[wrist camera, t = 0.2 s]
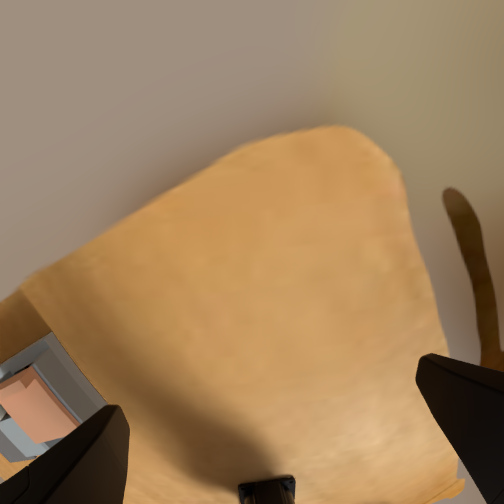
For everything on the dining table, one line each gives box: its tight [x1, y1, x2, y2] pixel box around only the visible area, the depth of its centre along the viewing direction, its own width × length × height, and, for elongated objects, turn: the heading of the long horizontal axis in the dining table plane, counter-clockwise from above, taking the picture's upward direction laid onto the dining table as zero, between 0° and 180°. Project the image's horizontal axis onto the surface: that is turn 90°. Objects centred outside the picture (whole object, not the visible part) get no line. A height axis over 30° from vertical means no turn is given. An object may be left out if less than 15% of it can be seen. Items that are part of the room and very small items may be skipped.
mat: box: [0, 430, 37, 462], centre depth 23 cm, size 8×8×1 cm
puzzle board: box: [0, 332, 108, 457], centre depth 20 cm, size 11×18×4 cm, turn 118°
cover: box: [0, 366, 81, 444], centre depth 17 cm, size 6×7×2 cm
